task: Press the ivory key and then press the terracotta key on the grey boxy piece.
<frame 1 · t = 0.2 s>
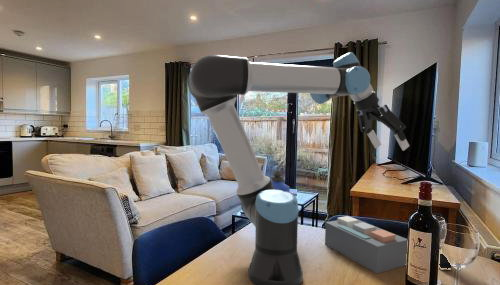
hand: (391, 147, 106), 35 cm above the table, tool tilted 35°, fingers open, 13 cm apart
grey key: (363, 230, 99), point 8 cm above the table, slide at 0.0 cm
terracotta key: (382, 238, 92), point 8 cm above the table, slide at 0.0 cm
grey boxy piece: (363, 253, 100), on the table
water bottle: (276, 235, 115), on the table
ivory key: (347, 223, 106), point 8 cm above the table, slide at 0.0 cm
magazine: (438, 264, 93), on the table
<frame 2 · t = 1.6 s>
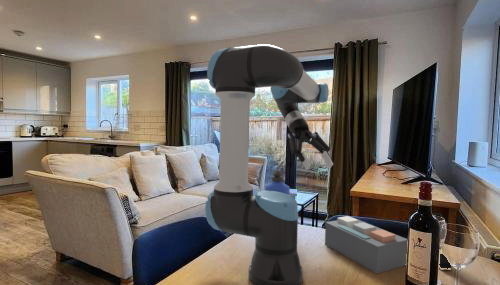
hand: (319, 167, 111), 27 cm above the table, tool tilted 45°, fingers open, 10 cm apart
nothing on the table moved.
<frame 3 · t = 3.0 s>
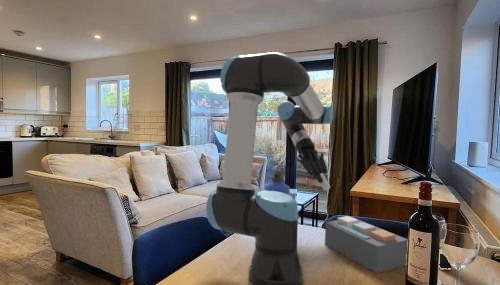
hand: (327, 188, 116), 18 cm above the table, tool tilted 45°, fingers closed
nothing on the table moved.
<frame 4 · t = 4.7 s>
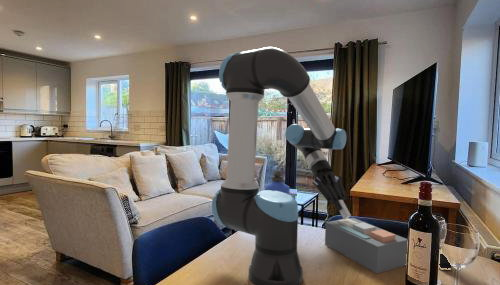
hand: (347, 217, 106), 10 cm above the table, tool tilted 45°, fingers closed
ivory key: (347, 225, 106), point 7 cm above the table, slide at 0.9 cm, touching gripper
everything else where it was.
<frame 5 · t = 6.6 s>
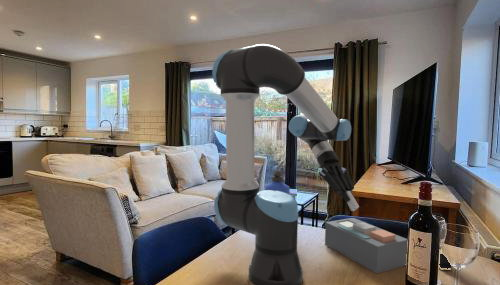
hand: (355, 209, 103), 14 cm above the table, tool tilted 45°, fingers closed
ivory key: (347, 228, 106), point 6 cm above the table, slide at 1.9 cm, touching grey boxy piece
everything else where it was.
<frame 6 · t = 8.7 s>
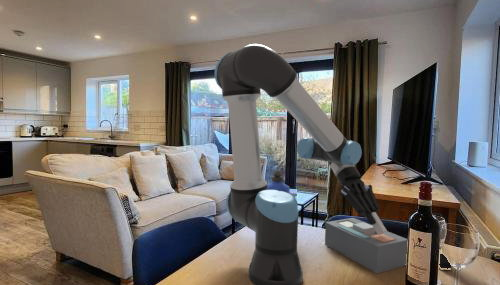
hand: (382, 233, 93), 9 cm above the table, tool tilted 45°, fingers closed
terracotta key: (382, 242, 92), point 7 cm above the table, slide at 1.4 cm, touching gripper
everything else where it was.
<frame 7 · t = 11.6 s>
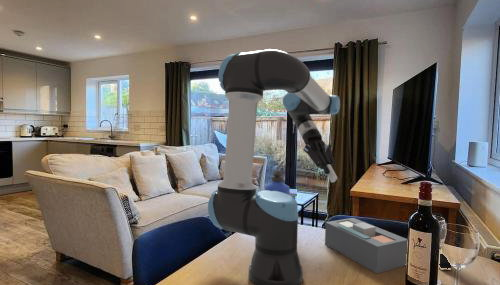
hand: (334, 180, 113), 22 cm above the table, tool tilted 45°, fingers closed
terracotta key: (382, 244, 92), point 6 cm above the table, slide at 1.9 cm, touching grey boxy piece
everything else where it was.
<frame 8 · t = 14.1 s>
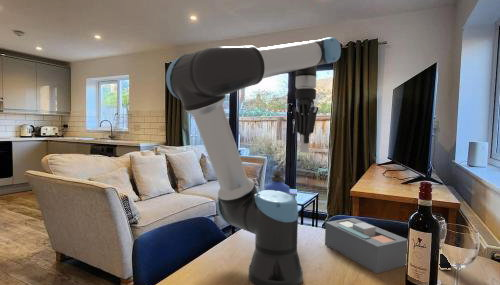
hand: (304, 151, 112), 32 cm above the table, tool pointing down, fingers closed
nothing on the table moved.
at the end: ivory key slide at 1.9 cm; terracotta key slide at 1.9 cm; grey key slide at 0.0 cm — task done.
